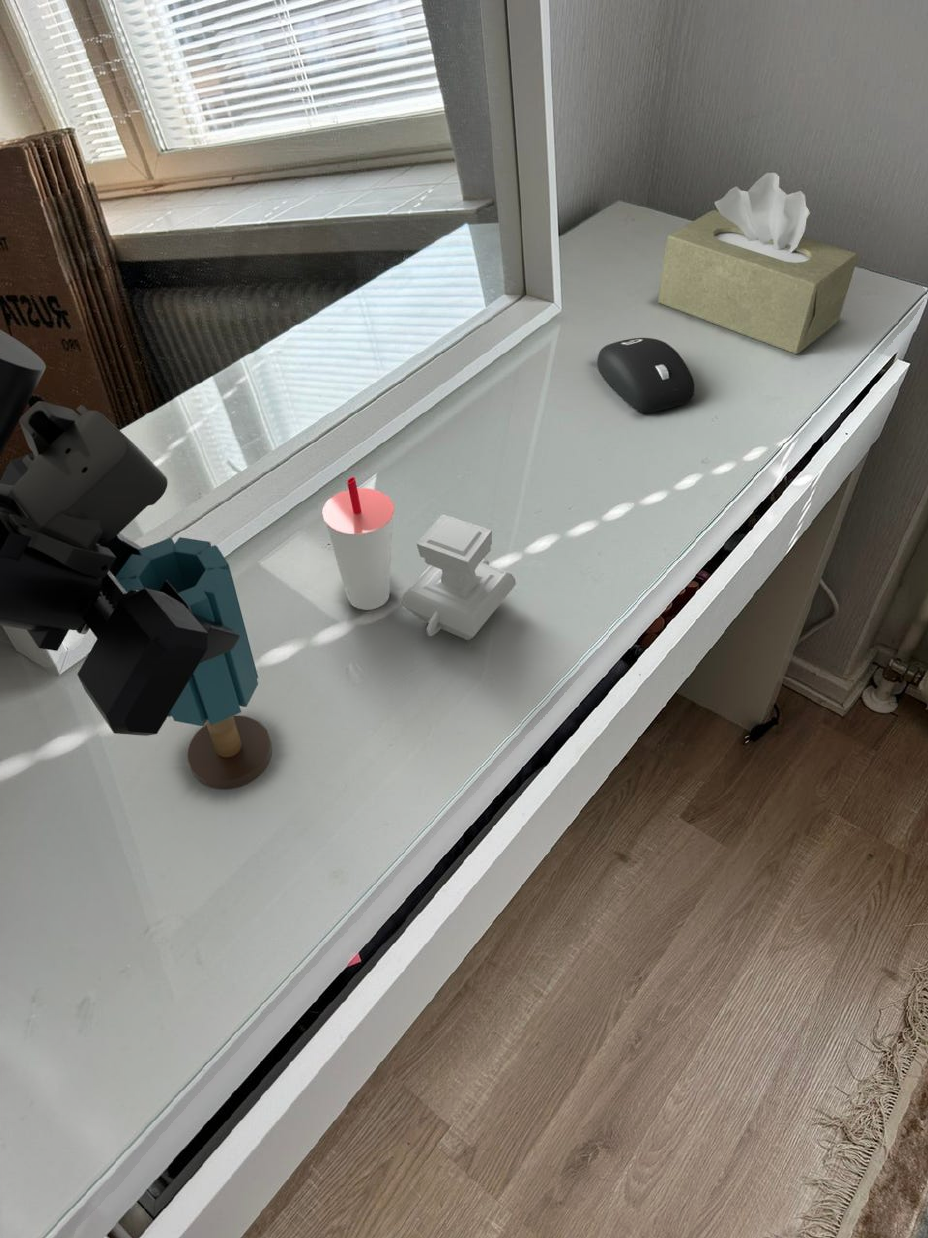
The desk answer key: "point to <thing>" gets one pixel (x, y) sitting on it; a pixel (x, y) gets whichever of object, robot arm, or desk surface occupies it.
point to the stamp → (456, 579)
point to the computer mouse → (646, 374)
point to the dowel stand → (229, 752)
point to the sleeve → (211, 597)
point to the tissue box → (757, 268)
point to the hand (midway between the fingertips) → (209, 611)
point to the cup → (362, 543)
